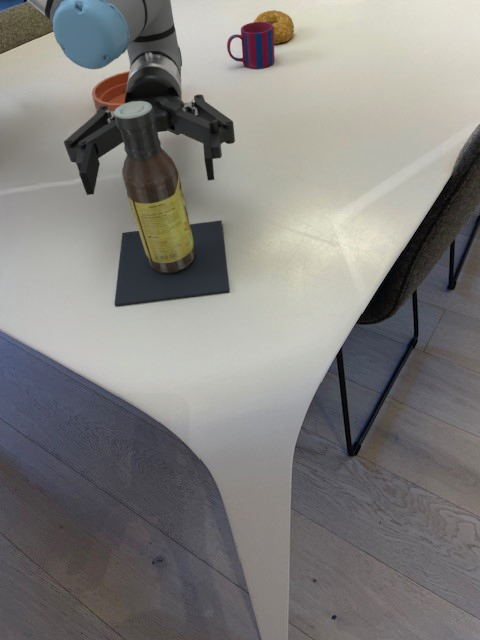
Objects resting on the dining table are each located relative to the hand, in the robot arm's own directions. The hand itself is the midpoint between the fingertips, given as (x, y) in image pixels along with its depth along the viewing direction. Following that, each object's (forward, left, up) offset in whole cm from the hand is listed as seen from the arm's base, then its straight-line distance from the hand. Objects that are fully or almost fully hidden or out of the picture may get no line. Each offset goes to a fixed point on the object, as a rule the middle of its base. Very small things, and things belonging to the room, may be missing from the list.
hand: (147, 177), depth 54 cm
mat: (0, +1, -13) cm, 13 cm away
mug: (+17, +62, -13) cm, 66 cm away
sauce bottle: (0, +1, -13) cm, 13 cm away
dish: (-7, +48, -13) cm, 50 cm away
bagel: (+23, +75, -13) cm, 80 cm away
